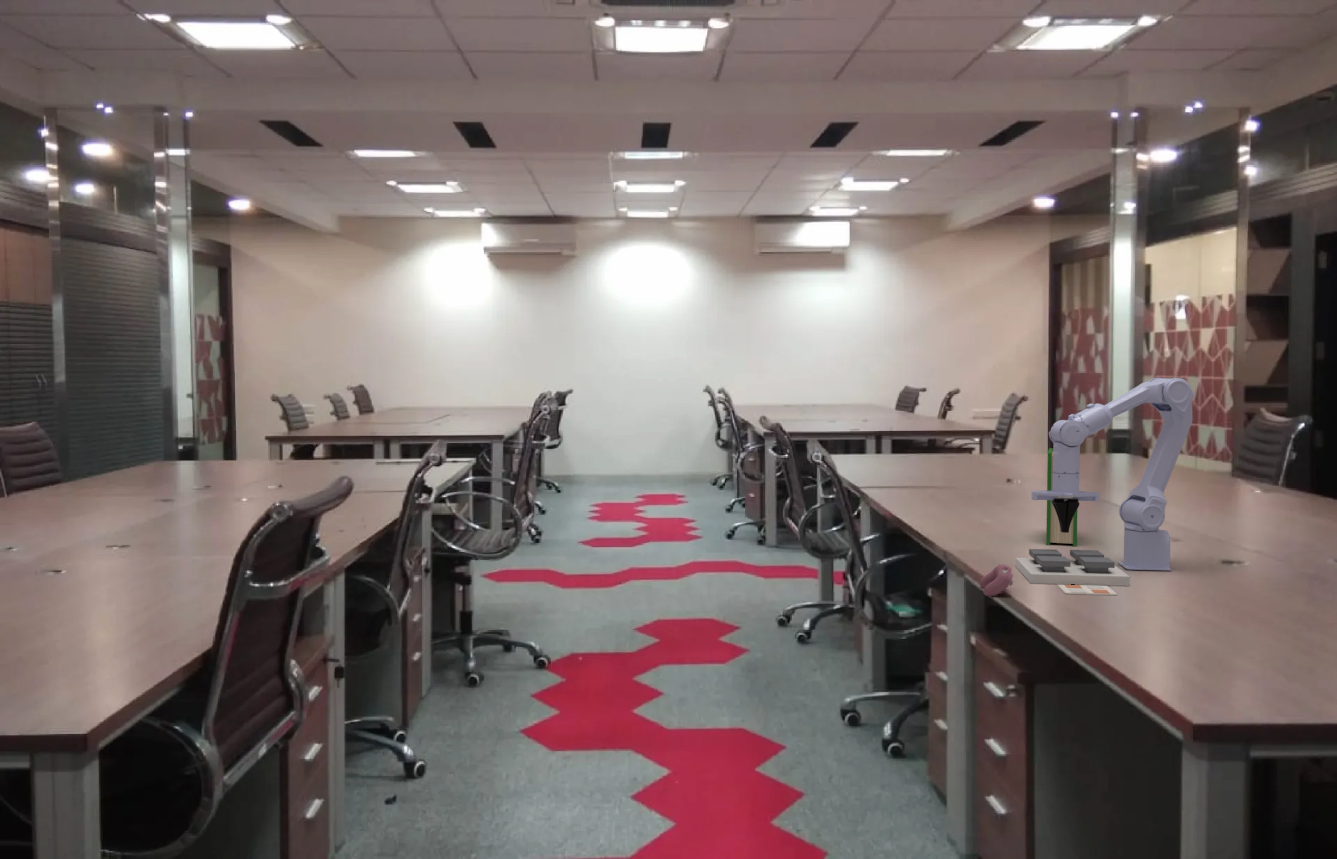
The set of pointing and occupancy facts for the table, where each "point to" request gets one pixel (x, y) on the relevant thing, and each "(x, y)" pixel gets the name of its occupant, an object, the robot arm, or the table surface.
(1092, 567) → the button
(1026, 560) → the button board
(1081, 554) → the button
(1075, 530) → the hardback book
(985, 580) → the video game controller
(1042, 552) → the button
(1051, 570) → the button
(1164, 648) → the table surface
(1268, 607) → the table surface
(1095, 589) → the pattern card
